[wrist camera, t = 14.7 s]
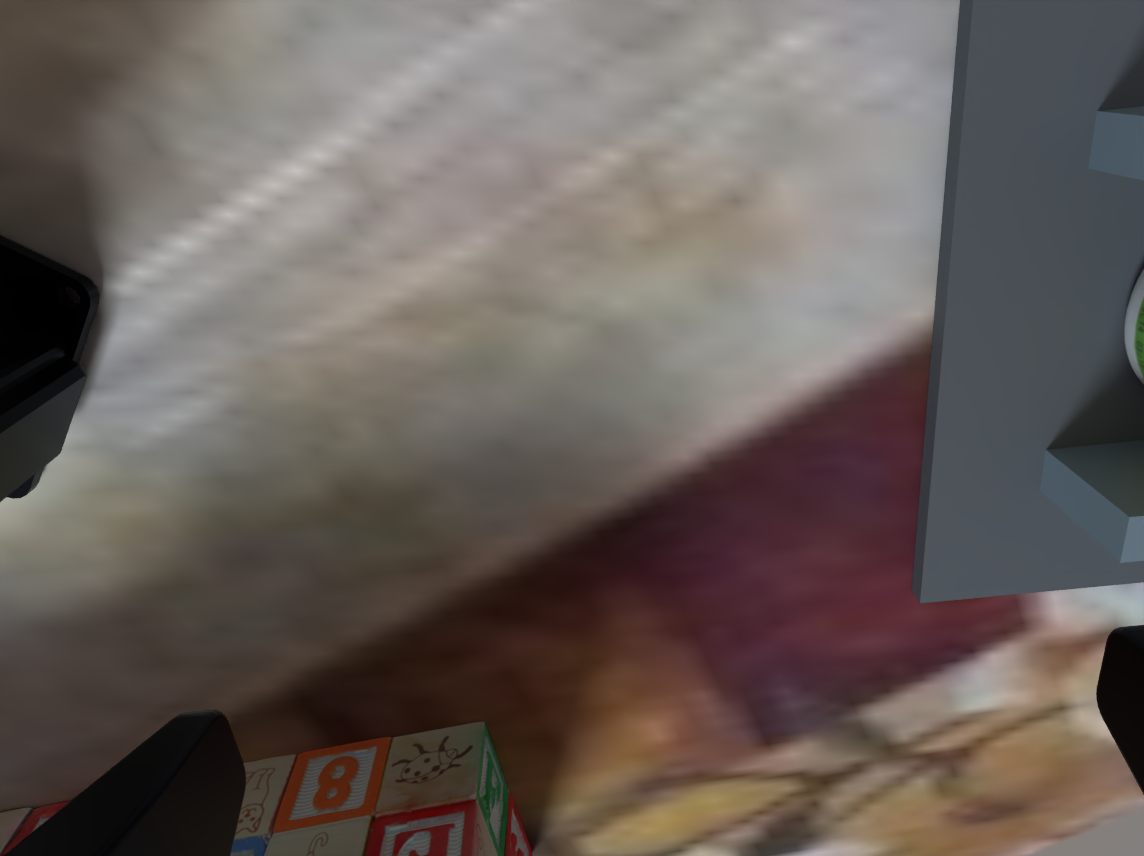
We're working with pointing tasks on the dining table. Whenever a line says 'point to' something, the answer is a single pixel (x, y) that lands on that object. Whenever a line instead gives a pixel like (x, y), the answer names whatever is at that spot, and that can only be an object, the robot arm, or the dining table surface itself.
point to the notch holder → (1037, 307)
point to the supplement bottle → (1136, 328)
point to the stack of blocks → (366, 801)
